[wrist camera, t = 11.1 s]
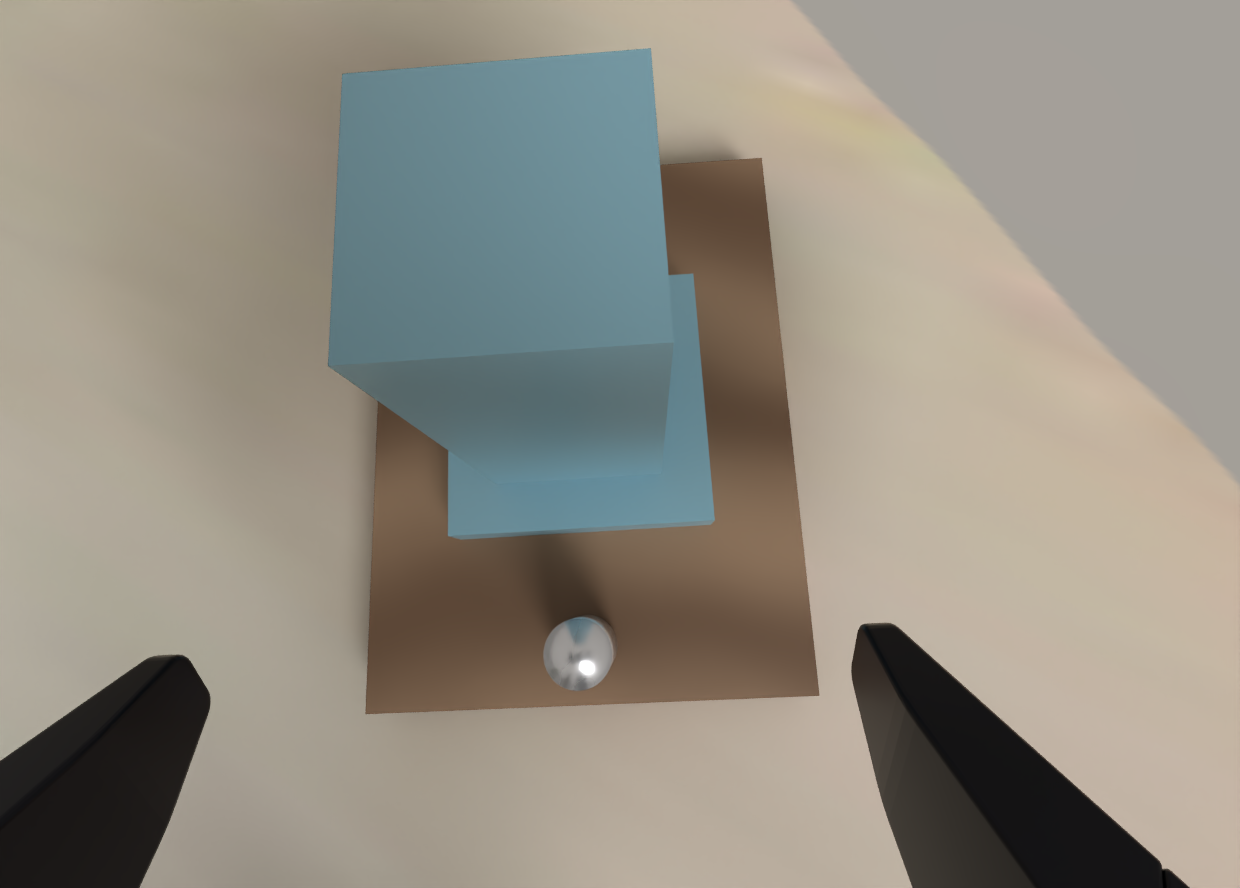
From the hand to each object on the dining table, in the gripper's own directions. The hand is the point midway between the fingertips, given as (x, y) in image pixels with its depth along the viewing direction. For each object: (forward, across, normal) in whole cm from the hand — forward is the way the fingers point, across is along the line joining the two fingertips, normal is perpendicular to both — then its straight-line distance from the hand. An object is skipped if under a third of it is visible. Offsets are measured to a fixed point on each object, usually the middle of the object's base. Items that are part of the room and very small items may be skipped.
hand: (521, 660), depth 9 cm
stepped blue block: (+11, 0, +2) cm, 11 cm away
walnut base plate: (+12, 0, +3) cm, 12 cm away
